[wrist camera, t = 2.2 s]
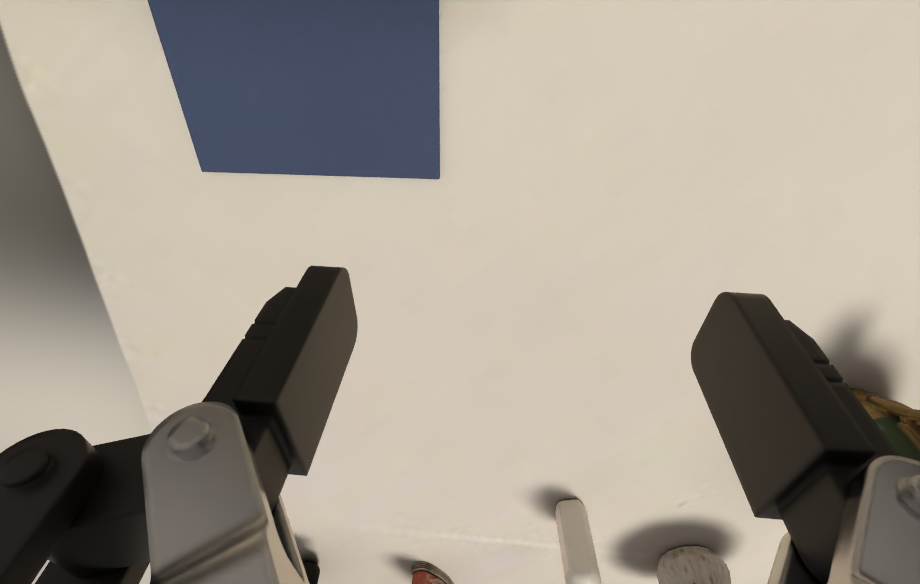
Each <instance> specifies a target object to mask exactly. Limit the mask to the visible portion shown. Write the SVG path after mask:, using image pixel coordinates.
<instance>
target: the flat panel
mask: <svg viewBox="0 0 920 584" xmlns="http://www.w3.org/2000/svg"><path fill="white" fill-rule="evenodd" d="M148 3H149V6H150V9H151V13H152V16H153V19H154V22H155V25H156V28H157V31H158V35H159V38H160V41H161V44H162V47H163V50H164V53H165V57H166V60H167V63H168V66H169V69H170V72H171V75H172V79H173V82H174V85H175V88H176V91H177V94H178V98H179V101H180V104H181V107H182V110H183V113H184V116H185V120H186V123H187V126H188V129H189V132H190V135H191V138H192V142H193V145H194V148H195V151H196V154H197V157H198V160H199V164H200V167H201V170H202V172H228V173H260V174H291V175H323V176H355V177H387V178H419V179H439V178H440V127H439V0H148Z"/></svg>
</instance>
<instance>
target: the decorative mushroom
mask: <svg viewBox="0 0 920 584" xmlns="http://www.w3.org/2000/svg"><path fill="white" fill-rule="evenodd" d="M657 578H658V581H659V584H731V578H730V572H729V570H728V567H727V565H726V564H725V563H724V562H723V561H722V560H721V559H720V558H719V557H718V556H717V555H716V554H715V553H713V552H712V551H711V550H710V549H708V548H704V547H700V546H684V547H679V548H676V549H673V550H669V551H668V552H666V553H665V554H664V555H663V556H661V558H660V561H659V565H658V570H657Z"/></svg>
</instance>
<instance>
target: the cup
mask: <svg viewBox="0 0 920 584" xmlns="http://www.w3.org/2000/svg"><path fill="white" fill-rule="evenodd" d="M851 390H852V392H853V393H854V394H855V396H856V397H857V398H858V400H859V401H860V403H861V404H862V405H863V407H864V408H865V409H866V411H867V412H868V413H869V415H870V416H871V417H872V419H873V420H874V421H875V423H876V424H877V425H878V427H879V428H880V429H881V431H882V432H883V433H884V435H885V436H886V437H887V439H888V440H889V441H890V443H891V444H892V446H893V447H894V448H895V450H896V451H897V452H898V454H899V455H900V456H902V457H906V458H910V459H913V460H916V461H919V462H920V410H914V409H911V408H910V407H908V406H906V405H904V404H901V403H899V402H896V401H893V400H889V399H886V398H881V397H878V396H877V394H875V393H867V392H865V391H863V390H856V389H855V390H854V389H851Z"/></svg>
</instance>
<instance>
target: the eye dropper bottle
mask: <svg viewBox="0 0 920 584" xmlns="http://www.w3.org/2000/svg"><path fill="white" fill-rule="evenodd" d="M555 516H556V523H557V529H558V536H559V543H560V549H561V556H562V563H563V569H564V576H565V582H566V584H602V583H601V578H600V573H599V568H598V563H597V559H596V554H595V549H594V544H593V540H592V535H591V530H590V525H589V521H588V516H587V512H586V509H585V507H584V505H583V504H582V503H581V502H580V501H579V500H576V499H573V500H564V501H560V502H558V504H557V506H556V509H555Z"/></svg>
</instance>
